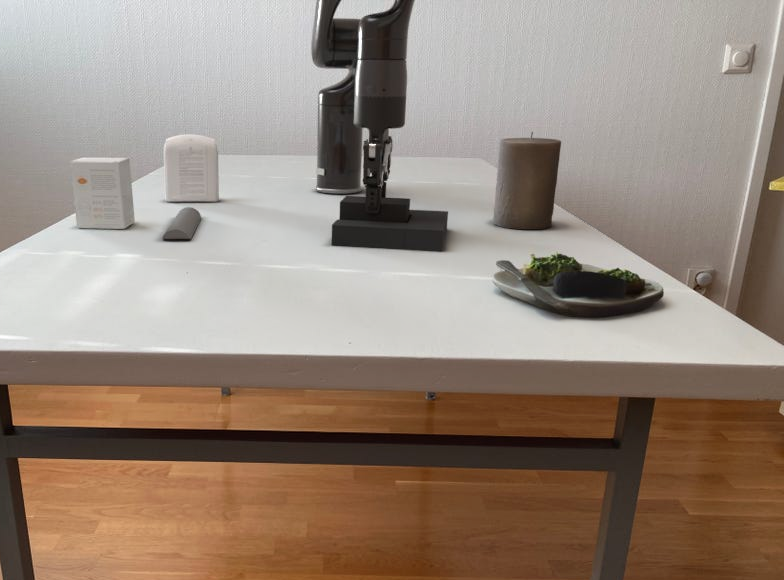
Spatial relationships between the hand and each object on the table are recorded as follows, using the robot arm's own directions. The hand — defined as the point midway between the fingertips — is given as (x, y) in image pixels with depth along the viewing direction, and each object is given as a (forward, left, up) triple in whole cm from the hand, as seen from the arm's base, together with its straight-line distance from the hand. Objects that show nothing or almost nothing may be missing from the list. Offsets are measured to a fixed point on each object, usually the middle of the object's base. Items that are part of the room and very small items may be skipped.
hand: (375, 208), depth 119 cm
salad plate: (+28, +27, -4) cm, 39 cm away
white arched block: (-24, -38, -4) cm, 45 cm away
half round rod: (+2, -30, -4) cm, 31 cm away
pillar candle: (-16, +23, -4) cm, 28 cm away
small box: (+3, -43, -4) cm, 44 cm away
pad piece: (0, 0, -2) cm, 2 cm away
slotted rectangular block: (0, +3, -4) cm, 5 cm away
